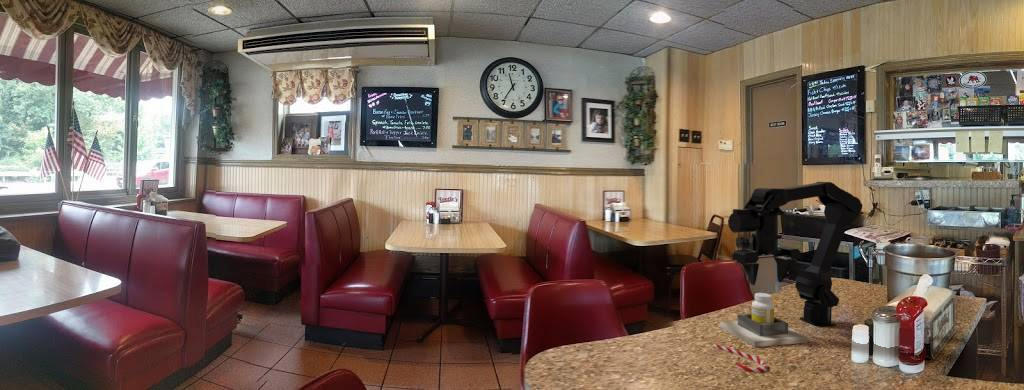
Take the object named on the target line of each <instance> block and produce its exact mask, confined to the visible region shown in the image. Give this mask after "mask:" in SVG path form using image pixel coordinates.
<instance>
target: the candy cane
mask: <svg viewBox="0 0 1024 390" xmlns="http://www.w3.org/2000/svg"><path fill="white" fill-rule="evenodd" d="M712 348H713V349H717V350H719V351H724V352H727V353H729V354H734V355H735V356H737V355H738V356H740V357H743V358H745V359H749V360H751V361H752V362H755V363H757V364H759V366H760V367H751V366H746V365H743V364H741V363H736V364H735V367H736V368H737V369H739V370H742V371H745V372H748V373H755V374H757V373H758V374H762V373H766V372H767V371H768V369H769V365H768V364H767V362H765V361H764V360H763V359H761V358H759V357H756V356H754V355H752V354H750V353H746V352H744V351H740V350H737V349H735V348H730V347H728V346H723V345H719V344H714V343H713V344H712Z"/></svg>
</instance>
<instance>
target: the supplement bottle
mask: <svg viewBox="0 0 1024 390" xmlns="http://www.w3.org/2000/svg"><path fill="white" fill-rule="evenodd" d="M751 314H752V320H754V321H756V322H758V323H760V324H764V323H774V317H775V305H774V303H772V295H771V294H769V293H766V292H765V293H764V292H756V293H754V301H752V303H751Z"/></svg>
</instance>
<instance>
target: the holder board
mask: <svg viewBox="0 0 1024 390" xmlns="http://www.w3.org/2000/svg"><path fill="white" fill-rule="evenodd" d="M719 328H721V330H724V331H725V332H727V333H729V334H731V335H732V336H734V337H736V338H738V339H740V340H741V341H743V342H745V343H747V344H749V345H750V346H752V347H754V348H759V347H770V346H780V345H782V346H784V345H792V344H802V343H803V344H804V343H809V336H808V335H805V334H803V333H801V332H798V331H796V330H794V329H792V328H789V322H787V321H784V320H782V319H779V318H777V317H775V316H774V323H764V324H760V323H758V322H756V321H754V320H752V313H741V314H737V320H735V321H734V320H733V321H721V322H719Z"/></svg>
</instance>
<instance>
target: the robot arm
mask: <svg viewBox="0 0 1024 390" xmlns="http://www.w3.org/2000/svg"><path fill="white" fill-rule="evenodd" d="M812 198H817V199H818V201H819V202H820V203H821V205H823V206H824V209H823V214H824V218H825V221H826V223H825V225H824V227H823V230H822V233H821V235H820V237H819V241H818V243H817V246H816V249H815V252H814V253H813V257H812V259H811V263H810V265H809V266H808V267H807V268H806V269H803V268H800V269H799V270H798V272H797V276H796V277H795V279H794V282H795V285H794V288H795V289H796V291H797V293H798V296H799V299H802V300H804V306H803V316H802V317H799V320H801V321H804V322H806V323H809V324H810V325H813V326H815V327H825V326H826V327H827V326H836V325H837V323H836V322H834V321H832V308H833V307H837V306H838V305H839V302H840V299H839V297H838V296H837V295H836V294H835V293H834V292H833V291H832V287H833V280H832V277H831V273H830V272H831V270H832V267H833V264H834V261H835V259H836V256H837V254H838V252H839V248H840V246H841V243H842V241H843V237H844V235H845V232H846V230H847V228H848V226H850V225H851V224H852V223H854V222H855V221H856V220H858V217H859V215H860V214H861V212H862V210H863V203H862V202H861V200H860V198H859V197H857V196H854V195H853V194H852V193H850V192H848V191H847V190H844V189H842V188H840V187H839V186H838V185H836V184H835V183H833V182H832V181H816V182H814V183H813V182H812V183H808V184H807V183H806V184H801V185H795V186H794V185H793V186H789V187H783V188H777V187H776V188H775V187H773V188H772V187H758V188H757V187H756V188H754V190H753V192H752V193H751V197H750V198H749V199H748V201H747V202H746V203H745V205H744V206H743V208H742V209H741V208H740V209H739V208H732V213H731V214H730V215H729V217H728V219H727V225H728V227H729V230H730V231H731V232H732V233H738V234H739V233H751V236H750V237H751V238H746V237H745V236H738V237H736V238H735V246H736V248H737V249H736V250H734V251H732V260H733V261H736V263H738V264H740V265H741V266H742V267H743V268H744V270H745V273H746V275H747V278H748V281H749V283H750V284H751V285H752V286H755V285H756V282H757V278H758V271H759V266H760V263H758V261H759V259H767V258H769V259H770V258H773V260H775V263H776V276H777V282H778V283H781V284H782V283H783V281H784V280H785V278H786V277H787V275H788V274H789V272H790V270H791V269H792V268H793V266H794V265H795V263H797V262H798V260H801V259H802V252H801V251H800V249H799V248H796V247H791V246H779V240H781V239H782V238H783V237H782V235H781V234H779V216H785V215H786V213H785V211H783V210H782V209H781V208H780V207H783V206H786V205H787V204H788V203H791V202H793V201H799V200H804V199H812ZM753 232H754V233H753Z"/></svg>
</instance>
